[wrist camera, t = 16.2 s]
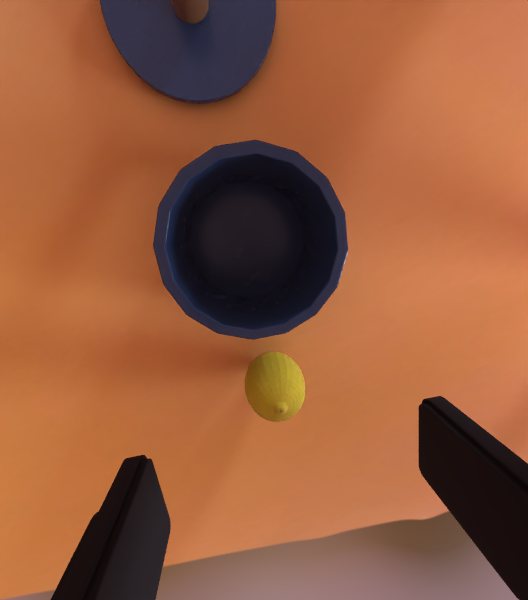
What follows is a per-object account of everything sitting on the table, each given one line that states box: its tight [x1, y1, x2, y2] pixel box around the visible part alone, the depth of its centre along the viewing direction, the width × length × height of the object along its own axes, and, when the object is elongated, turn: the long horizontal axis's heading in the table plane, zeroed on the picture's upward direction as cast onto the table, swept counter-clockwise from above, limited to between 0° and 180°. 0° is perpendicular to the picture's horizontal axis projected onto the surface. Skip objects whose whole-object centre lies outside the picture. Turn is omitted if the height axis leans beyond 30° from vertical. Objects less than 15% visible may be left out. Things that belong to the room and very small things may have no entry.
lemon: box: [245, 352, 305, 422], centre depth 25 cm, size 6×6×8 cm
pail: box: [153, 140, 348, 339], centre depth 21 cm, size 12×12×10 cm
